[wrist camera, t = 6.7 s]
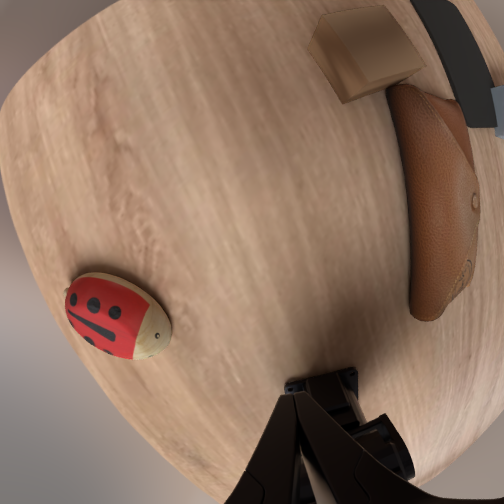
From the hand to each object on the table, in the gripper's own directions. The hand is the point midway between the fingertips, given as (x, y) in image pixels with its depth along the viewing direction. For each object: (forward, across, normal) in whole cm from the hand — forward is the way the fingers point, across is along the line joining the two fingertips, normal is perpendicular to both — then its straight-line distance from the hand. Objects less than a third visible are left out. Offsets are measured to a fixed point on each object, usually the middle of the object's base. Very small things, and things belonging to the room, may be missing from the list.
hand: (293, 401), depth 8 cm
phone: (+12, -22, -18) cm, 31 cm away
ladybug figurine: (+12, +12, +1) cm, 18 cm away
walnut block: (+12, -8, -15) cm, 21 cm away
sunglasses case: (+13, -15, -4) cm, 20 cm away
